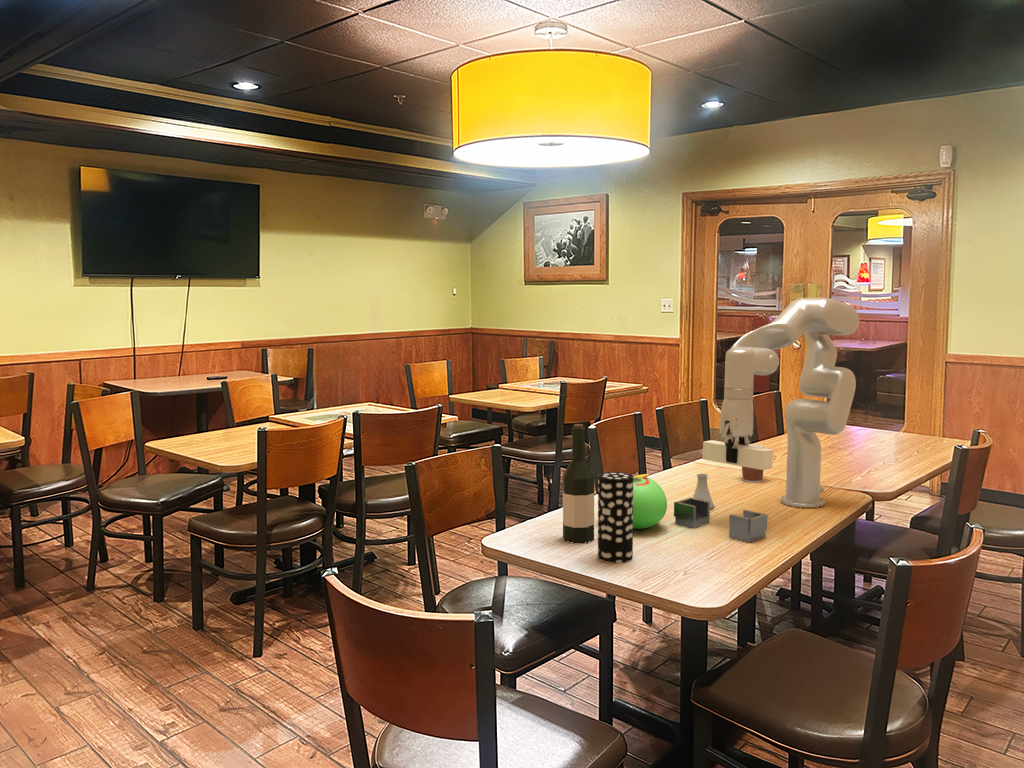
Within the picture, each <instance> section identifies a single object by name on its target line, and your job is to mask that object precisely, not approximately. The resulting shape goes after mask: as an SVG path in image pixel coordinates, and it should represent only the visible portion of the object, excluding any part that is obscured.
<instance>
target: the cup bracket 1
mask: <svg viewBox="0 0 1024 768" xmlns="http://www.w3.org/2000/svg"><path fill="white" fill-rule="evenodd" d="M710 511H711V509H710V502H708V501H704V500H699V499H695V498H693V497H687V498H685V499H680V500H677V501H675V502H673V517H674V519H675V523H674V524H675V525H678V526H682V527H686V528H689V529H690V528H691V529H696V528H699V527H702V526H705V525H708V524H710V522H711V521H710V520H711V519H710V515H711V514H710Z"/></svg>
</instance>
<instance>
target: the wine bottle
mask: <svg viewBox="0 0 1024 768" xmlns="http://www.w3.org/2000/svg"><path fill="white" fill-rule="evenodd" d="M563 538H564V539H563ZM562 539H563V541H564V542H566V541H569V542H568V543H570V542H573V543H572V544H574V543H580V544H588V543H587V542H589V541H591V542H593V541H592V540H595V475H594V474H593V472H592V471H591V469H590V467H589V464H587V462H586V428H585V427H584V424H583V423H582V424H581V423H575V424H573V427H572V428H571V461H570V462H569V464H568V466H567V467H566V469H565V470H564V472H563V473H562ZM585 542H586V543H585ZM589 543H590V542H589Z"/></svg>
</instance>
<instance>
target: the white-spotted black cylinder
mask: <svg viewBox="0 0 1024 768" xmlns="http://www.w3.org/2000/svg"><path fill="white" fill-rule="evenodd" d="M597 476H598V477H597V558H598V559H599V560H600V559H601V560H600V561H602V560H603V561H602V562H605V561H607V562H606V563H611V562H614V564H622V563H627V562H630V561H632V560H633V559H634V558H633V557H634V555H633V553H634V551H633V550H634V546H633V545H634V543H633V542H634V541H633V540H634V528H633V476H634V474H631V473H627V472H620V471H610V472H609V471H608V472H607V471H606V472H603V473H602V472H601V473H598V475H597Z"/></svg>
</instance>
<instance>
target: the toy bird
mask: <svg viewBox="0 0 1024 768" xmlns="http://www.w3.org/2000/svg"><path fill="white" fill-rule="evenodd" d="M649 475H650V474H649V473H644V474H638V475H637V474H636V475H633V530H634V529H635V530H636V529H637V530H641V529H648V528H650V527H654V526H655V525H657V524H659V523H660V521H662V519H664V517H665V515H666V512H667V509H668V500H667V499H668V498H667V496H666V494H665V492H664V490H663V488H662V487H661V485H660V484H659V483H657V481H655V480H653V479H652V478H650V477H648V476H649Z"/></svg>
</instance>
